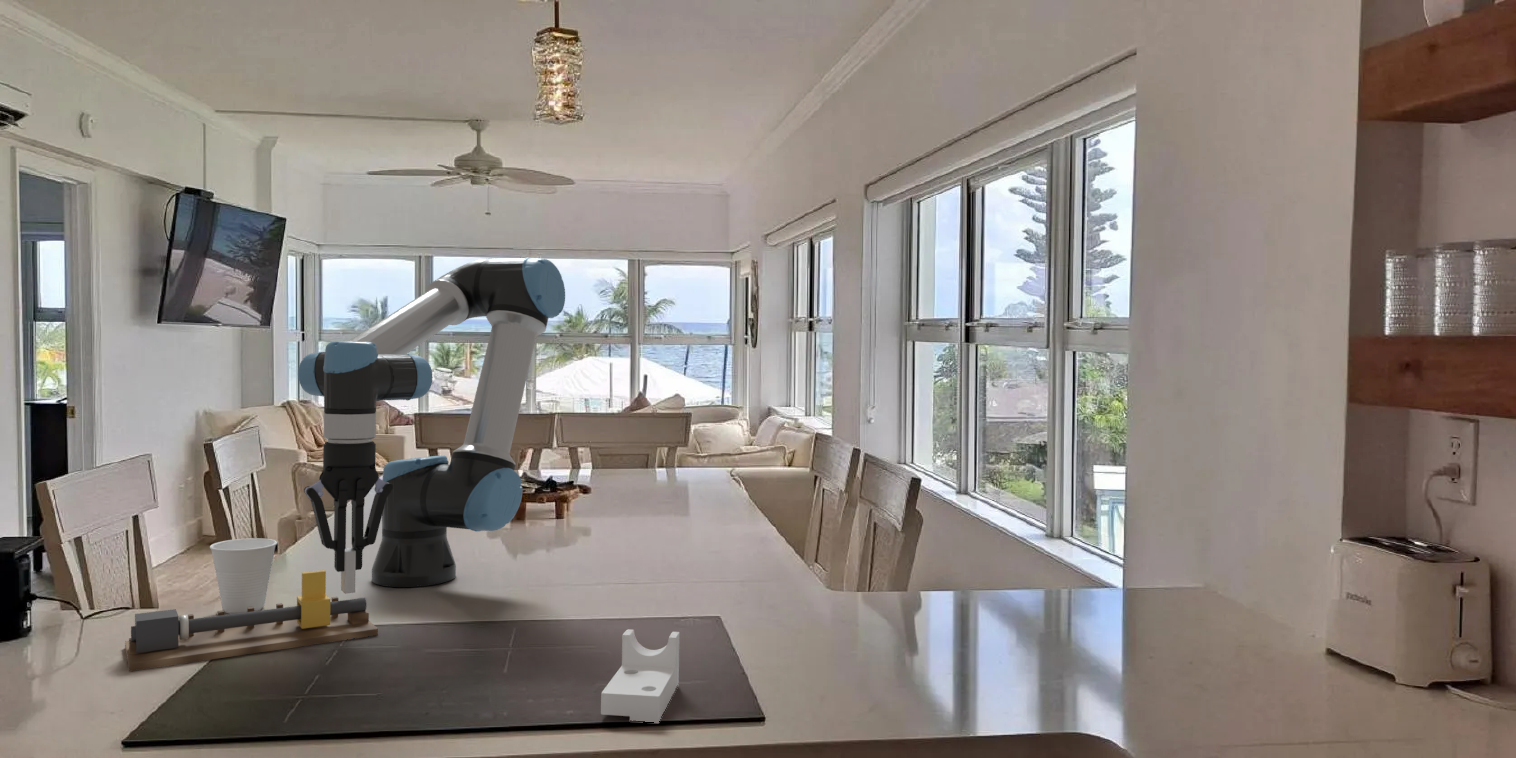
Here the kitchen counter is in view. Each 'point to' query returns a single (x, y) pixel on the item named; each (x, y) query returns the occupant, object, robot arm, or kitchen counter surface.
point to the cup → (243, 572)
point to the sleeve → (314, 600)
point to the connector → (160, 630)
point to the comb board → (251, 640)
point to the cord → (262, 617)
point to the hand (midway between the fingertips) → (348, 591)
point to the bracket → (642, 680)
